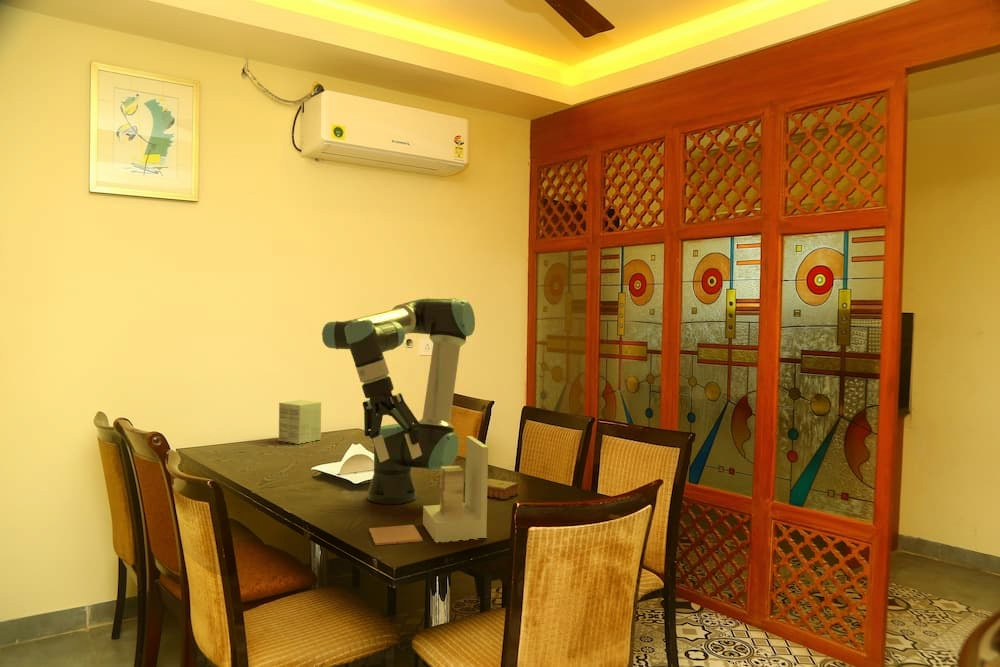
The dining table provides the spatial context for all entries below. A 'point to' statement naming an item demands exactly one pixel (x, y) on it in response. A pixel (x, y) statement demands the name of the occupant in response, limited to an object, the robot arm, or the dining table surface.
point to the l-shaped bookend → (475, 501)
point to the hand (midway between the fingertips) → (400, 458)
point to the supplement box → (299, 421)
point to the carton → (500, 488)
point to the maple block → (451, 490)
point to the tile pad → (395, 535)
